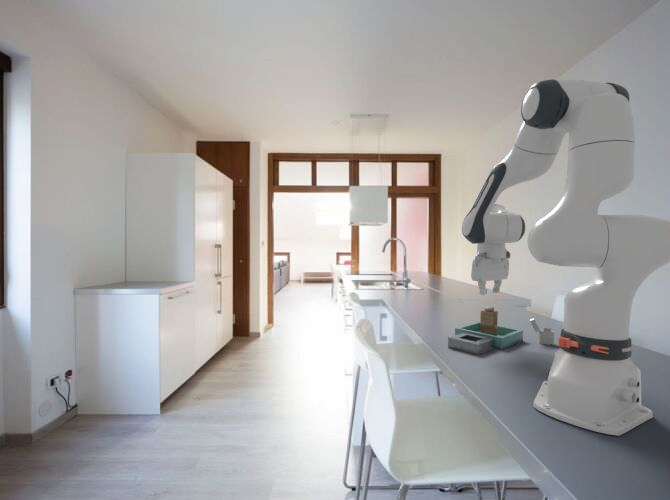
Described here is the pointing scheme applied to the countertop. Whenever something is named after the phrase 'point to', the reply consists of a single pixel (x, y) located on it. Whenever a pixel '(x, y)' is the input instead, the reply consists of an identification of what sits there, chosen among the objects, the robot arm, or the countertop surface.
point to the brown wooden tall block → (489, 321)
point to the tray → (502, 339)
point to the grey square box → (471, 343)
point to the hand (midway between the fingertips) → (489, 293)
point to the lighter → (543, 333)
